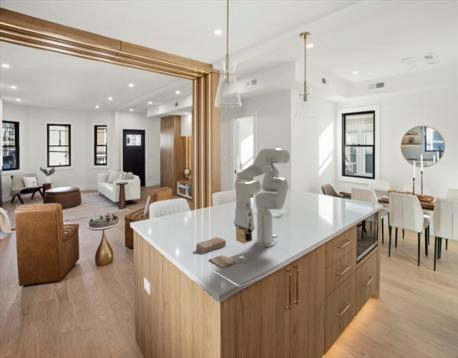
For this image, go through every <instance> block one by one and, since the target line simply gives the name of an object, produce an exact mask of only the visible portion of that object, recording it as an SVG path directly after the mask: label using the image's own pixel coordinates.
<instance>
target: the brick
mask: <svg viewBox="0 0 458 358" xmlns="http://www.w3.org/2000/svg"><path fill="white" fill-rule="evenodd" d="M225 246H226V239H224V238H222V237H218V236H217V237H213V238H211V239H207V240H204V241H201V242H198V243H196V248H195V250H196V251H197V252H199V253H201V254H206V253H208V252H211V251H215V250H218V249H220V248H224V247H225Z"/></svg>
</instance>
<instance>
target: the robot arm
mask: <svg viewBox="0 0 458 358" xmlns="http://www.w3.org/2000/svg"><path fill="white" fill-rule="evenodd" d="M290 158H291V155H290V152H289V151H288V150H287V149H283V148H279V147H278V148H277V147H276V148H275V147H273V148H270V147H269V148H262V149H260V150H259V151H258V153H257V156H256V157H255V159H254V161H253V163H252V165H249V166H247V167H246V168H245V169H244V170H242V171H240V172H239V174H238V176H237V178H236V180H235V182H234V190H235V205H236V207H235V213H234V221H233V224H234V226H235V229H236V228H237V227H240V226H241V227H243V228H245V229H246V241H249V240H251V233H252V234H253V232H254V230H255V229H256V239H255V240H254V241H253V244H255V245H256V246H259V247H265V248H269V247H273V246H275V244H276V242H275V240H274V239H276V238H278V235H277V234H273V213H272V211H271V210H277V211H280V210H282V209H283V208H284V206H285V202H286V198H287V194H288V187H289V183H288V180H287V179H286V178H283V177H279V175H280V174H279V173H280V171H279V169H278V168H277V166H276V165H275V164H283V165H284V164H288V163H289V161H290ZM261 175H264V176H263V179H262V184H261V182H260V181H259V180H257V179H253V178H255V177H258V176H261ZM261 190H262V191H263V192H260V191H261ZM259 192H260V193H259ZM255 194H256V196H255V198H254V202H255V208H256V227H255V224H254V214H253V213H254V212H253V208H252V203H251V200H252V199H251V198H252V197H251V195H255ZM248 228H249V230H248Z"/></svg>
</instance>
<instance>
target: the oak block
mask: <svg viewBox="0 0 458 358" xmlns="http://www.w3.org/2000/svg"><path fill="white" fill-rule="evenodd" d="M248 230H249V228H248ZM235 241H236V242H239V243H241V244H242V245H243V244H246V243H249V242H252V241H253V232H252V233H251V240H249V241H246V229H245V228H243V227H241V226H240V227H237V228H236V227H235Z"/></svg>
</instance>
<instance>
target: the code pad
mask: <svg viewBox="0 0 458 358" xmlns="http://www.w3.org/2000/svg"><path fill="white" fill-rule="evenodd" d="M228 258H230V259H232V260H234V261H236V262H237V263H239V264H241V265H245V264H247V263H249V262H252V261H255V260H258V259H259V257H257V256H254V255H252V254H249V253H247V252H245V251H244V252H241V253H238V254H235V255H232V256H228Z"/></svg>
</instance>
